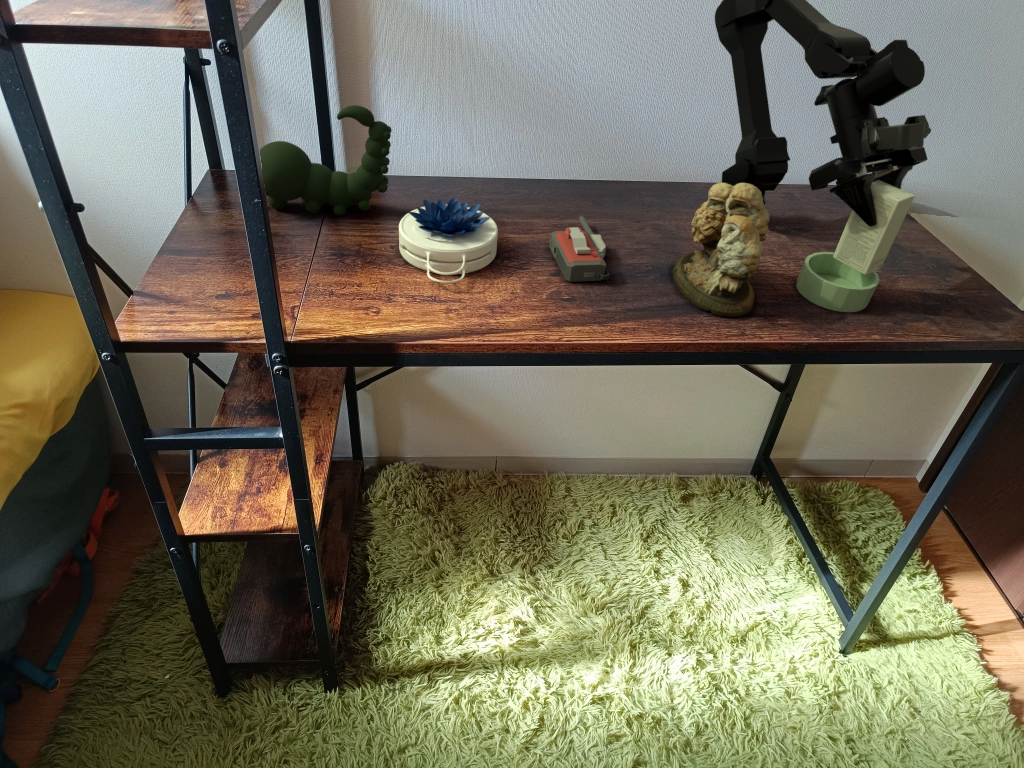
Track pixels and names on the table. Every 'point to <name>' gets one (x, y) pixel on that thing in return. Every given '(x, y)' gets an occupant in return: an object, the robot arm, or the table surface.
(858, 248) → the cosmetic box
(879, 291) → the table surface
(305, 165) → the toy figurine
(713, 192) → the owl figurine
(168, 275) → the table surface
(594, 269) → the walkie-talkie
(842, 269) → the dish
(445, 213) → the white round gift box
